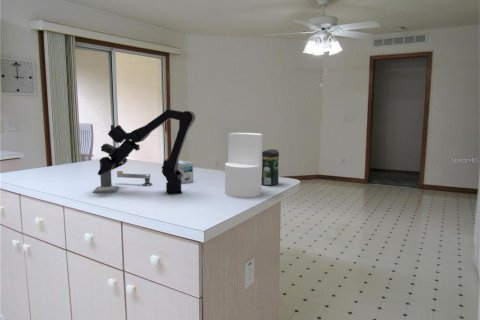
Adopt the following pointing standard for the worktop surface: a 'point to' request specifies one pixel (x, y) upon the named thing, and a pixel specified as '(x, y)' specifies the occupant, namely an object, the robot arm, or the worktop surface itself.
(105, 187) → the plug
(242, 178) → the cylinder
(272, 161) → the coffee jar
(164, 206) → the worktop surface
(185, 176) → the light bulb box
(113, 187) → the socket
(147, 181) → the grey flanged disc
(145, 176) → the bar
